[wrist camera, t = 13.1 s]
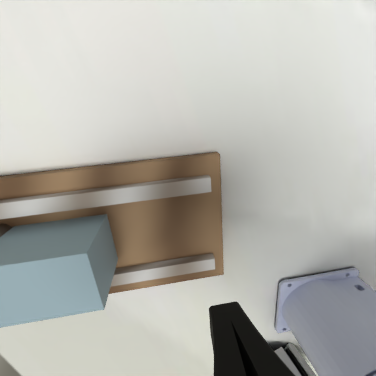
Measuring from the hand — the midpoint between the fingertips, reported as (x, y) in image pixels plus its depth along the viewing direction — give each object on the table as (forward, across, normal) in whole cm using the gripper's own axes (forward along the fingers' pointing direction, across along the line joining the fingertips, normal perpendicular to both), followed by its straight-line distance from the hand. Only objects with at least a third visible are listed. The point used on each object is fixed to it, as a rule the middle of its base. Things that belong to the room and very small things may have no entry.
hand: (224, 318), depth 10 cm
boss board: (+10, +8, 0) cm, 12 cm away
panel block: (+9, +10, 0) cm, 14 cm away
